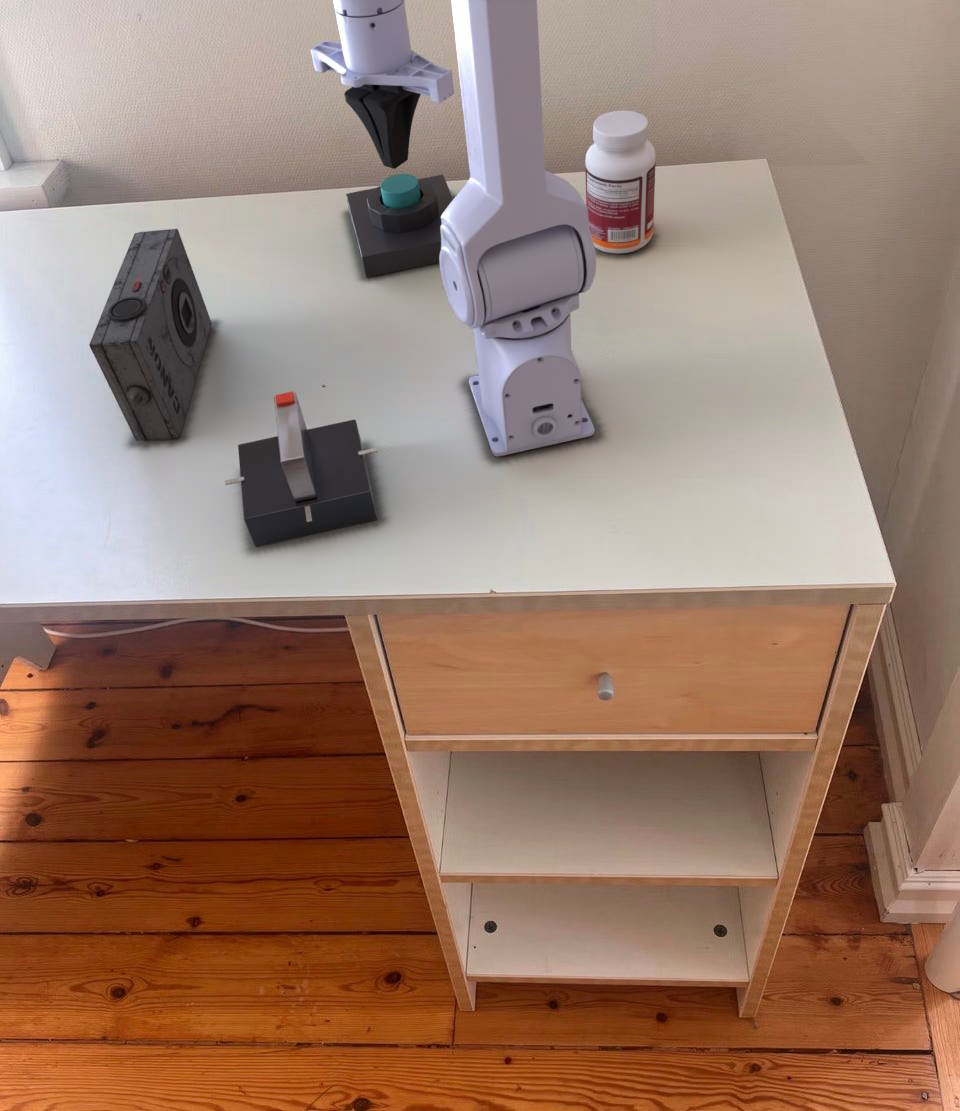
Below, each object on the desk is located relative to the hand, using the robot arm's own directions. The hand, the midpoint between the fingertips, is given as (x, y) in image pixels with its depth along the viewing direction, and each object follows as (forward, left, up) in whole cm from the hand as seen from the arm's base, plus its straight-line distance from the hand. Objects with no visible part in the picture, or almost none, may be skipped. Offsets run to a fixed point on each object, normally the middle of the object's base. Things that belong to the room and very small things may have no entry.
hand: (395, 162), depth 89 cm
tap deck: (-33, +13, -7) cm, 36 cm away
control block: (0, 0, -7) cm, 7 cm away
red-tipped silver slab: (-33, +13, -4) cm, 36 cm away
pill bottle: (-8, -19, -8) cm, 22 cm away
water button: (0, 0, -4) cm, 4 cm away
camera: (-16, +23, -8) cm, 29 cm away
